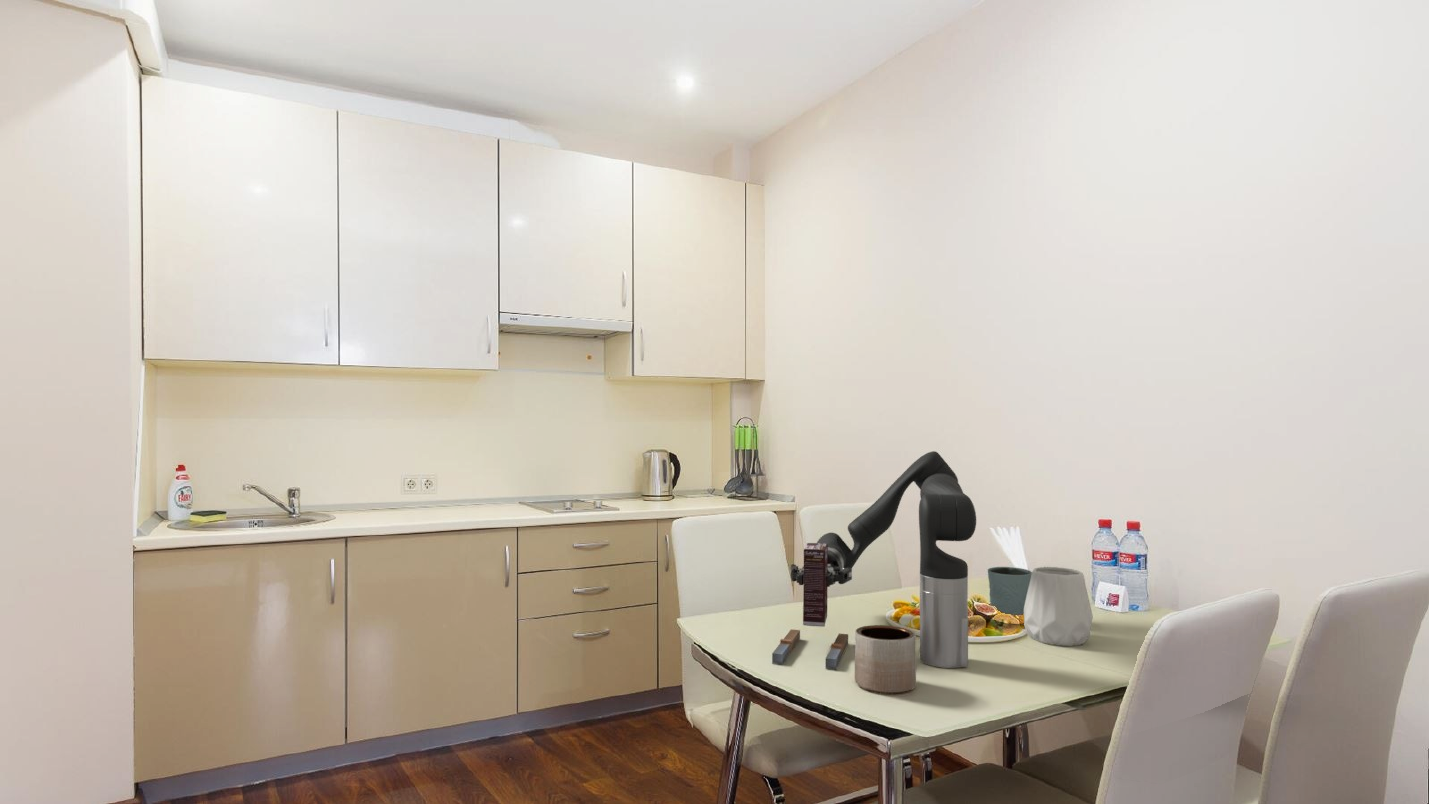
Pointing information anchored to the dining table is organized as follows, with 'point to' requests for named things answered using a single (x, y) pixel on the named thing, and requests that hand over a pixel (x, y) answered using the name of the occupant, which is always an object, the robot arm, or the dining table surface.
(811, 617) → the supplement box
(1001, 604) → the teal embossed flower pot
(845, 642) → the pair of brown-grey bars
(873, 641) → the planter
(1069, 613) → the vase
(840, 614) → the dining table surface
